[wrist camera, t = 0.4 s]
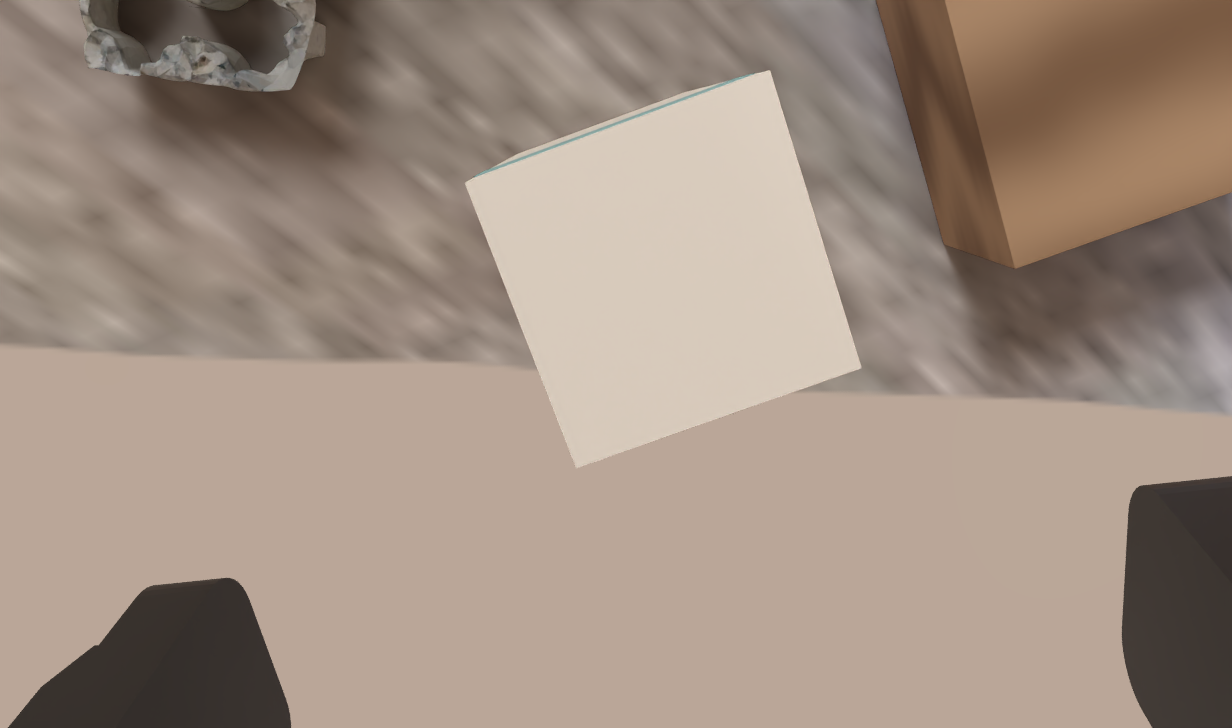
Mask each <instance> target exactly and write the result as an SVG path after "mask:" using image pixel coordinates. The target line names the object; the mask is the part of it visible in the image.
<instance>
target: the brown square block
mask: <svg viewBox="0 0 1232 728" xmlns="http://www.w3.org/2000/svg"><path fill="white" fill-rule="evenodd" d="M876 2H877V6H878V9H879V13H880V16H881V20H882V24H883V27H884V31H885V34H886V38H887V42H888V45H889V49H890V52H891V56H892V60H893V63H894V67H895V70H896V74H897V78H898V81H899V85H900V88H901V92H902V96H903V99H904V103H905V106H906V110H907V114H908V117H909V121H910V124H911V128H912V131H913V135H914V139H915V142H916V146H917V149H918V153H919V157H920V160H921V164H922V167H923V171H924V175H925V178H926V182H927V185H928V189H929V193H930V196H931V200H932V203H933V207H934V211H935V214H936V218H937V221H938V225H939V229H940V232H941V236H942V239H943V243H944V245H947V246H950V247H953V248H956V249H959V250H962V251H965V252H967V253H970V254H973V255H976V256H979V257H982V258H985V259H988V260H991V261H994V262H997V263H999V264H1002V265H1005V266H1008V267H1011V268H1014V269H1016V268H1019V267H1022V266H1025V265H1028V264H1030V263H1033V262H1036V261H1039V260H1042V259H1045V258H1047V257H1050V256H1053V255H1056V254H1059V253H1062V252H1064V251H1067V250H1070V249H1073V248H1076V247H1078V246H1081V245H1084V244H1087V243H1090V242H1093V241H1095V240H1098V239H1101V238H1104V237H1107V236H1109V235H1112V234H1115V233H1118V232H1121V231H1124V230H1126V229H1129V228H1132V227H1135V226H1138V225H1141V224H1143V223H1146V222H1149V221H1152V220H1155V219H1157V218H1160V217H1163V216H1166V215H1169V214H1172V213H1174V212H1177V211H1180V210H1183V209H1186V208H1189V207H1191V206H1194V205H1197V204H1200V203H1203V202H1205V201H1208V200H1211V199H1214V198H1217V197H1220V196H1222V195H1225V194H1228V193H1231V192H1232V0H876Z"/></svg>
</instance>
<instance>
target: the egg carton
mask: <svg viewBox="0 0 1232 728" xmlns="http://www.w3.org/2000/svg"><path fill="white" fill-rule="evenodd" d="M79 1H80V11H81V15H82V19H83V22H84V24H85V27H86V30H87V34H88V38H87V40H86V42H85V43H84V54H85V60H86V62H87V65H88V68H95V69H101V70H105V71H109V72H113V73H117V74H124V75H130V76H140V75H141V74H144V75H150V76H155V77H159V78H162V79H167V80H172V81H190V82H194V83H200V84H208V85H219V86H227V87H231V88H232V89H236V90H244V91H281V90H291V88H292V87H293V85H294V84H295V82H296V79H297V77H298V74H299V72H300V69H301V67H302V64H303V62H304V61H305V60H307V59H310V58H314V57H321V56H324V54H325V43H326V27H325V26H324V25H323V24H321V23H318V22H316V21H314V19H315V11H316V2H315V0H274V2H275V3H277V4H278V5H279V6H281V7H283V8H284V9H286V10H288V11H290V12H291V13H292V14H293V15H294V16H295V17H296V18H297V21H298V24H297V26H294V27H291V29H290V30H289V31H288V32H287V33H286V34H285V35H284V45H285V46H286V47H287V49H288V50H289V56H288V57H287V58H285V59H283V60H282V61H280V62H279V63H278V64H277V65H276V67H275V68H274V69H273V70H272V71H271V72H270V73H269V74H265V73H261V72H258V71H255V70H252V69H251V67H250V65H249V63H248V62H247V61H246V59H245V58H244V57H243V56H242V55H241V54H240V53H239V52H238V51H237V50H236V49H234V48H232V47H230V46H228V45H226V44H221V43H217V42H211V41H207V40H204V39H201V38H199V37H192V36H182V39H181V42H180V43H179V44H176V45H168V46H167V47H166V48H164V49H163V52H162V55H161V58H160V59H159V60H158V61H157V62H156V63H151V61H150V58H149V55H148V53H147V52H146V50H145V49H144V47H143V45H142V44H141V43H140V42H138V41H137V40H136V39H135V38H133V37H132V36H129V35H127V34H125V33H123V32H121V31H120V28H119V23H118V12H117V11H118V4H119V0H79ZM187 1H189V2H192V3H194V4H197V5H201V6H204V7H208V8H204V9H209V8H212V10H219V11H229V10H233V9H236V8H239V7H241V6H242V5H244V4H245V3H246V2H248V1H249V0H187ZM189 7H190V6H189ZM197 8H200V7H197Z"/></svg>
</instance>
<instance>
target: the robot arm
mask: <svg viewBox="0 0 1232 728" xmlns="http://www.w3.org/2000/svg"><path fill="white" fill-rule="evenodd" d="M1122 644H1123V652H1124V658H1125V664H1126V668H1127V672H1128V676H1129V679H1130V682H1131V686H1132V688H1133V691H1134V694H1135V696H1136V698H1137V701H1138V703H1139V705H1140V707H1141V709H1142V710H1143V712H1144V714H1145V716H1146V717H1147V719H1148V721H1149V722H1150V724H1151V726H1152V728H1232V476H1230V477H1221V478H1210V479H1202V480H1191V481H1181V482H1172V483H1162V484H1152V485H1143V486H1139V487H1138V488H1136V490H1135V491H1134V492H1133V494H1132V497H1131V500H1130V504H1129V513H1128V529H1127V547H1126V565H1125V584H1124V602H1123V620H1122ZM8 728H291V720H290V713H289V708H288V704H287V702H286V698H285V696H284V693H283V690H282V687H281V685H280V682H279V679H278V677H277V674H276V671H275V668H274V666H273V663H272V660H271V657H270V655H269V652H268V649H267V646H266V644H265V641H264V639H263V636H262V633H261V630H260V628H259V625H258V622H257V619H256V617H255V614H254V611H253V608H252V606H251V603H250V600H249V598H248V596H247V594H246V592H245V590H244V589H243V587H242V586H241V585H240V584H239V583H238V582H237V581H236V580H234V579H231V578H221V579H211V580H203V581H192V582H182V583H173V584H163V585H153V586H150V587H148V588H146V589H145V590H143V591H142V592H141V593H140V594H139V595H138V596H137V597H136V598H135V600H134V601H133V602H132V604H131V605H130V606H129V607H128V609H127V610H126V611H125V612H124V614H123V615H122V616H121V618H120V619H119V620H118V621H117V623H116V624H115V625H114V627H113V628H112V629H111V630H110V632H109V633H108V634H107V635H106V637H105V638H104V639H103V641H102V642H101V643H100V644H99V645H97V646H93V647H92V648H91V649H90V650H88V651H87V652H86V653H84V654H83V655H82V656H80V657H79V658H78V659H77V660H75V661H74V662H73V663H71V664H70V665H69V666H68V667H66V668H65V669H64V670H62V671H61V672H60V673H59V674H57V675H56V676H55V677H54V678H52V679H51V680H50V681H49V682H47V683H46V684H45V685H43V686H42V687H41V688H40V689H39V690H38V692H37V693H36V694H35V695H34V696H33V698H32V699H31V700H30V701H29V703H28V704H27V705H26V706H25V708H24V709H23V710H22V711H21V712H20V714H19V715H18V716H17V717H16V719H15V720H14V721H13V722H12V724H11V725H10V726H9V727H8Z"/></svg>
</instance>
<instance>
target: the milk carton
mask: <svg viewBox="0 0 1232 728" xmlns="http://www.w3.org/2000/svg"><path fill="white" fill-rule="evenodd" d="M465 185H466V187H467V190H468V193H469V195H470V198H471V200H472V203H473V205H474V208H475V210H476V213H477V216H478V218H479V221H480V223H481V226H482V228H483V231H484V233H485V236H486V239H487V241H488V244H489V246H490V249H491V251H492V254H493V257H494V259H495V262H496V264H497V267H498V269H499V272H500V274H501V277H502V280H503V282H504V285H505V287H506V290H507V292H508V295H509V298H510V300H511V303H512V305H513V308H514V310H515V313H516V315H517V318H518V321H519V323H520V326H521V328H522V331H523V333H524V336H525V338H526V341H527V344H528V346H529V349H530V351H531V354H532V356H533V359H534V362H535V364H536V367H537V369H538V372H539V374H540V377H541V379H542V382H543V385H544V387H545V390H546V392H547V395H548V397H549V400H550V403H551V405H552V408H553V410H554V413H555V415H556V418H557V420H558V423H559V425H560V428H561V431H562V433H563V436H564V438H565V441H566V444H567V446H568V449H569V451H570V454H571V456H572V459H573V461H574V464H575V466H576V468H579V467H582V466H585V465H588V464H591V463H593V462H596V461H599V460H602V459H604V458H608V457H610V456H613V455H616V454H619V453H622V452H625V451H627V450H630V449H633V448H636V447H639V446H641V445H644V444H647V443H650V442H653V441H656V440H659V439H661V438H664V437H667V436H670V435H673V434H676V433H679V432H681V431H684V430H687V429H690V428H693V427H696V426H698V425H701V424H704V423H707V422H710V421H713V420H715V419H718V418H721V417H724V416H727V415H730V414H733V413H735V412H738V411H741V410H744V409H747V408H749V407H752V406H755V405H758V404H761V403H763V402H767V401H769V400H772V399H775V398H778V397H781V396H784V395H787V394H789V393H792V392H795V391H798V390H801V389H804V388H806V387H809V386H812V385H815V384H818V383H821V382H824V381H826V380H829V379H832V378H835V377H838V376H841V375H843V374H846V373H849V372H852V371H855V370H858V369H860V368H861V364H860V361H859V358H858V355H857V351H856V348H855V345H854V342H853V338H852V335H851V332H850V329H849V325H848V322H847V319H846V316H845V312H844V309H843V306H842V303H841V299H840V296H839V293H838V290H837V286H836V283H835V280H834V277H833V273H832V270H831V267H830V264H829V260H828V257H827V254H826V251H825V247H824V244H823V241H822V238H821V234H820V231H819V228H818V225H817V221H816V218H815V215H814V212H813V208H812V205H811V202H810V199H809V195H808V192H807V189H806V186H805V182H804V179H803V176H802V173H801V169H800V166H799V163H798V160H797V156H796V153H795V150H794V147H793V143H792V140H791V137H790V134H789V130H788V127H787V124H786V121H785V117H784V114H783V111H782V108H781V104H780V101H779V98H778V95H777V91H776V88H775V85H774V82H773V78H772V75H771V72H770V70H769V71H765V72H761V73H757V74H754V73H753V74H749V75H745V76H741V77H738V78H735V79H732V80H729V81H726V82H722V83H718V84H715V85H711V86H707V87H703V88H699V89H695V90H691V91H687V92H684V93H681V94H678V95H675V96H673V97H670V98H667V99H665V100H662V101H659V102H656V103H654V104H651V105H648V106H646V107H643V108H640V109H638V110H635V111H632V112H629V113H627V114H624V115H621V116H619V117H616V118H613V119H610V120H608V121H605V122H602V123H600V124H597V125H594V126H591V127H589V128H586V129H583V130H581V131H578V132H575V133H573V134H570V135H567V136H564V137H562V138H559V139H556V140H554V141H551V142H548V143H545V144H543V145H540V146H537V147H535V148H532V149H529V150H526V151H524V152H521V153H518V154H516V155H514V156H513V157H511V158H509V159H507V160H505V161H503V162H502V163H500V164H498V165H496V166H494V167H493V168H491V169H488V170H485V171H483V172H481V173H479V174H478V175H476V176H474V178H473V179H471V180H469V181H467V182H465Z"/></svg>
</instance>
